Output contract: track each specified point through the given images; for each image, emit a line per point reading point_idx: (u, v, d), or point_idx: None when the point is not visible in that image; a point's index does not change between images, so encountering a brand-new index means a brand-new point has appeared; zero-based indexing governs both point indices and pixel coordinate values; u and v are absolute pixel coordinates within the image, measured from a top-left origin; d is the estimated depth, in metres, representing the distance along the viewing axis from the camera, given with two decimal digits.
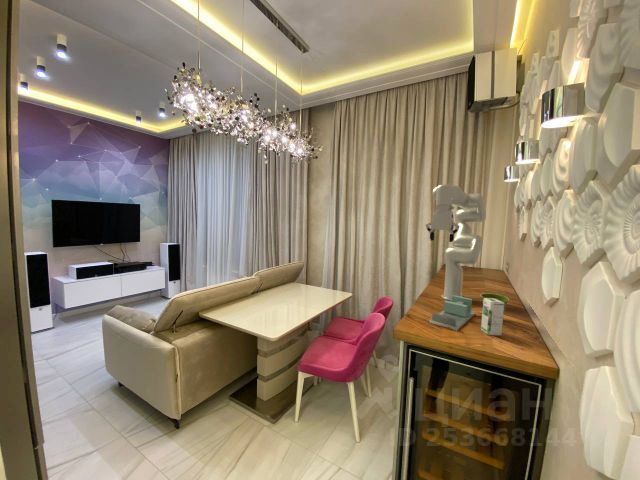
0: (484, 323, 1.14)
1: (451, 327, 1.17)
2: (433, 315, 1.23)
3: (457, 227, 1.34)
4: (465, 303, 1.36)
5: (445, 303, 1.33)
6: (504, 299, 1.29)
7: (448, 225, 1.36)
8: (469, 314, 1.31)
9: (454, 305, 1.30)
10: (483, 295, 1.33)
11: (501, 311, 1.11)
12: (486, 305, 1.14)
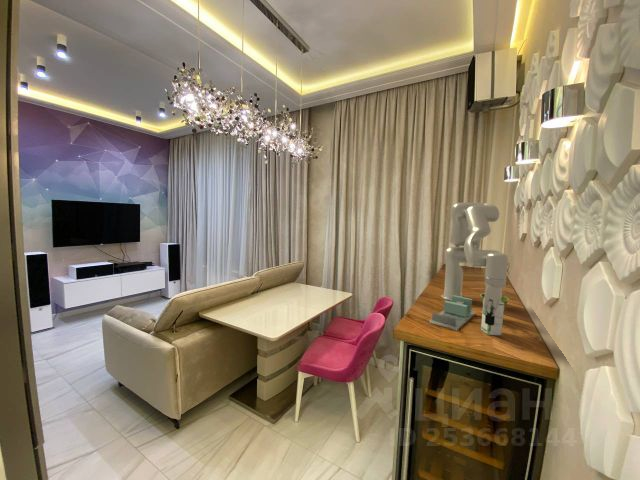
0: (484, 323, 1.14)
1: (451, 327, 1.17)
2: (433, 315, 1.23)
3: None
4: (465, 303, 1.36)
5: (445, 303, 1.33)
6: (504, 299, 1.29)
7: None
8: (469, 314, 1.31)
9: (454, 305, 1.30)
10: (483, 295, 1.33)
11: (501, 311, 1.11)
12: None
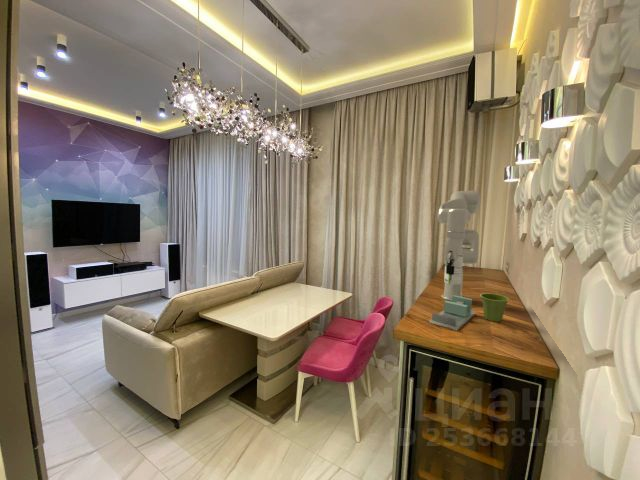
0: (446, 274, 1.24)
1: (451, 327, 1.17)
2: (433, 315, 1.23)
3: None
4: (465, 303, 1.36)
5: (445, 303, 1.33)
6: (504, 299, 1.29)
7: (461, 253, 1.25)
8: (469, 314, 1.31)
9: (454, 305, 1.30)
10: (483, 295, 1.33)
11: (460, 262, 1.21)
12: None
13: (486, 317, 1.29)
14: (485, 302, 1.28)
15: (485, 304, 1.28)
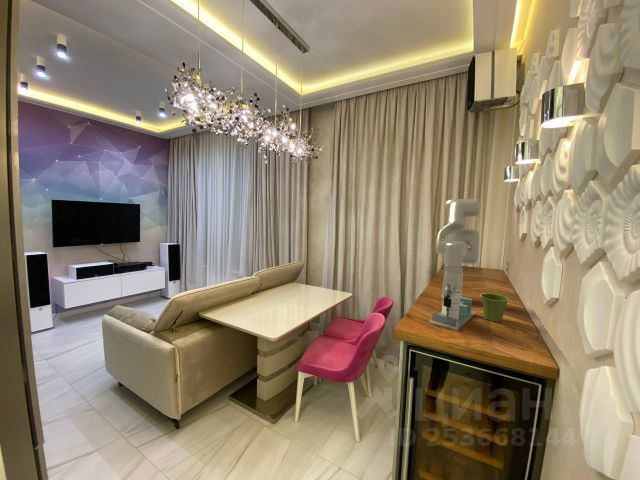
0: (444, 309, 1.26)
1: (451, 327, 1.17)
2: (433, 315, 1.23)
3: None
4: (465, 303, 1.36)
5: None
6: (504, 299, 1.29)
7: (459, 286, 1.26)
8: (469, 314, 1.31)
9: None
10: (483, 295, 1.33)
11: (458, 298, 1.23)
12: None
13: (486, 317, 1.29)
14: (485, 302, 1.28)
15: (485, 304, 1.28)
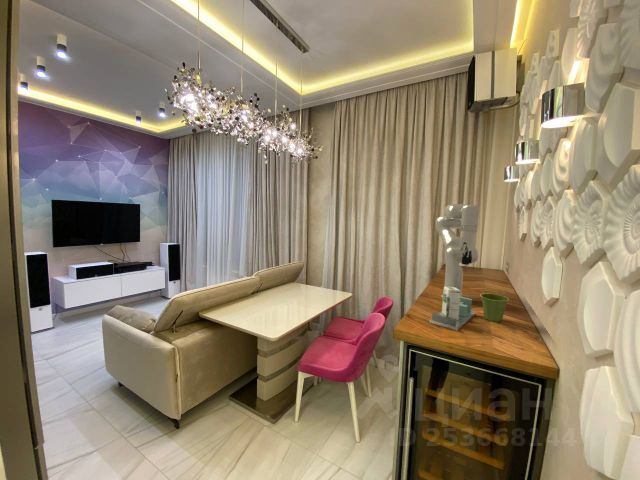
0: (444, 309, 1.26)
1: (451, 327, 1.17)
2: (433, 315, 1.23)
3: None
4: (465, 303, 1.36)
5: None
6: (504, 299, 1.29)
7: (474, 245, 1.39)
8: (469, 314, 1.31)
9: None
10: (483, 295, 1.33)
11: (458, 298, 1.23)
12: (445, 292, 1.26)
13: (486, 317, 1.29)
14: (485, 302, 1.28)
15: (485, 304, 1.28)
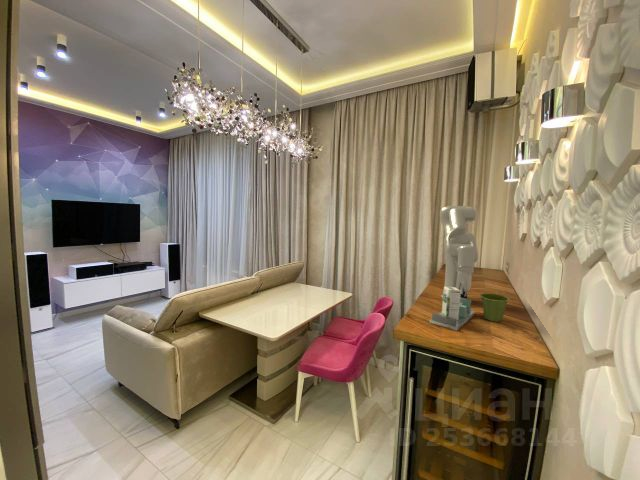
0: (444, 309, 1.26)
1: (451, 327, 1.17)
2: (433, 315, 1.23)
3: None
4: (464, 304, 1.35)
5: None
6: (504, 299, 1.29)
7: (470, 284, 1.40)
8: (469, 314, 1.31)
9: None
10: (483, 295, 1.33)
11: (458, 298, 1.23)
12: (445, 292, 1.26)
13: (486, 317, 1.29)
14: (485, 302, 1.28)
15: (485, 304, 1.28)
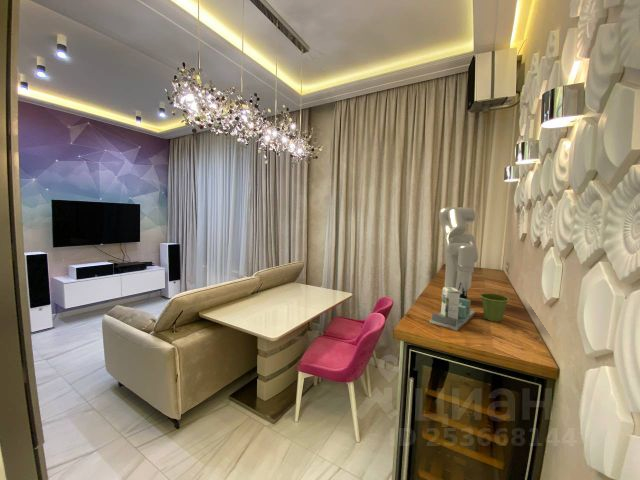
0: (443, 310, 1.26)
1: (451, 327, 1.17)
2: (433, 315, 1.23)
3: None
4: (464, 304, 1.34)
5: None
6: (504, 299, 1.29)
7: (470, 283, 1.41)
8: (469, 314, 1.31)
9: None
10: (483, 295, 1.33)
11: (457, 298, 1.22)
12: (444, 293, 1.25)
13: (486, 317, 1.29)
14: (485, 302, 1.28)
15: (485, 304, 1.28)
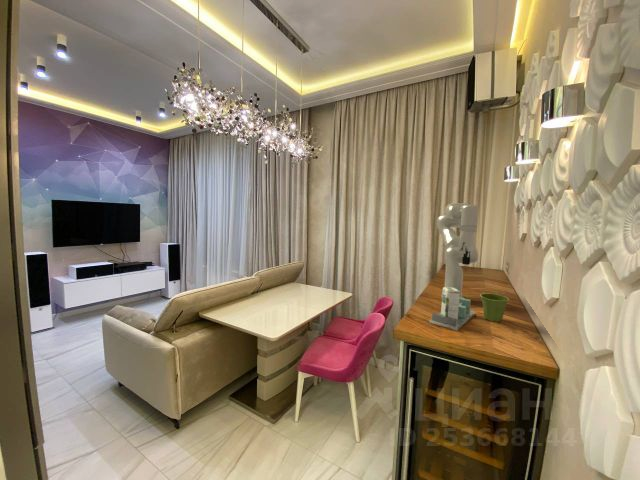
0: (443, 310, 1.26)
1: (451, 327, 1.17)
2: (433, 315, 1.23)
3: None
4: (464, 304, 1.34)
5: None
6: (504, 299, 1.29)
7: (473, 245, 1.39)
8: (469, 314, 1.31)
9: None
10: (483, 295, 1.33)
11: (457, 298, 1.22)
12: (444, 293, 1.25)
13: (486, 317, 1.29)
14: (485, 302, 1.28)
15: (485, 304, 1.28)
